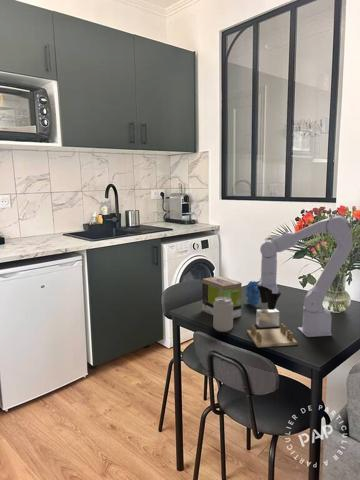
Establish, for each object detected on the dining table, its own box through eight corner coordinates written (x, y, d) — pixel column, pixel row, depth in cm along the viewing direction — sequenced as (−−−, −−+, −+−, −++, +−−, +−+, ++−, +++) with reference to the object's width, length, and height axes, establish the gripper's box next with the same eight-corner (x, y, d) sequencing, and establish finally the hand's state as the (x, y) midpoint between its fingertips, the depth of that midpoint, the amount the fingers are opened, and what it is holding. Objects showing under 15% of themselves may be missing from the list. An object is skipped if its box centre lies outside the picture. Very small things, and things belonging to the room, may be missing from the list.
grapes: (267, 309, 157) (268, 283, 155) (254, 311, 155) (254, 284, 153) (255, 301, 168) (255, 276, 166) (242, 302, 166) (242, 277, 164)
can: (209, 328, 136) (209, 298, 135) (221, 323, 142) (221, 294, 140) (224, 334, 131) (224, 303, 129) (236, 328, 136) (237, 298, 134)
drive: (275, 323, 142) (276, 308, 141) (279, 326, 138) (279, 311, 137) (256, 324, 141) (256, 309, 140) (259, 327, 137) (259, 312, 136)
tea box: (242, 316, 149) (242, 282, 146) (223, 321, 144) (223, 286, 141) (219, 306, 161) (219, 274, 159) (201, 310, 156) (201, 278, 154)
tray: (283, 330, 134) (283, 321, 133) (297, 344, 122) (297, 335, 122) (247, 332, 132) (247, 323, 132) (257, 347, 121) (257, 337, 120)
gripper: (252, 267, 143) (252, 300, 145) (265, 277, 128) (264, 313, 131) (269, 267, 143) (268, 299, 146) (284, 276, 129) (282, 312, 131)
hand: (267, 305), depth 138 cm, fingers open, 7 cm apart
